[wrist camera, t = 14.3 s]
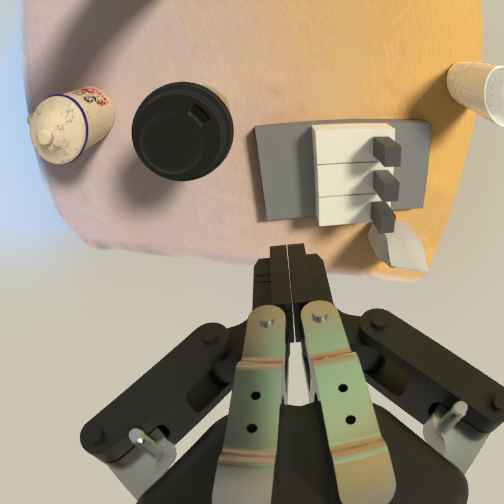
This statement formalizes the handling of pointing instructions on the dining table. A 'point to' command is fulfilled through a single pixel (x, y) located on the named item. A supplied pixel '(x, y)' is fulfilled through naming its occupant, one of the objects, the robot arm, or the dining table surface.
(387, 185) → the handle
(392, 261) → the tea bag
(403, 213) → the dining table surface
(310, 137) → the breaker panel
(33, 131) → the teacup with lid
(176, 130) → the coffee cup
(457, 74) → the white cup
